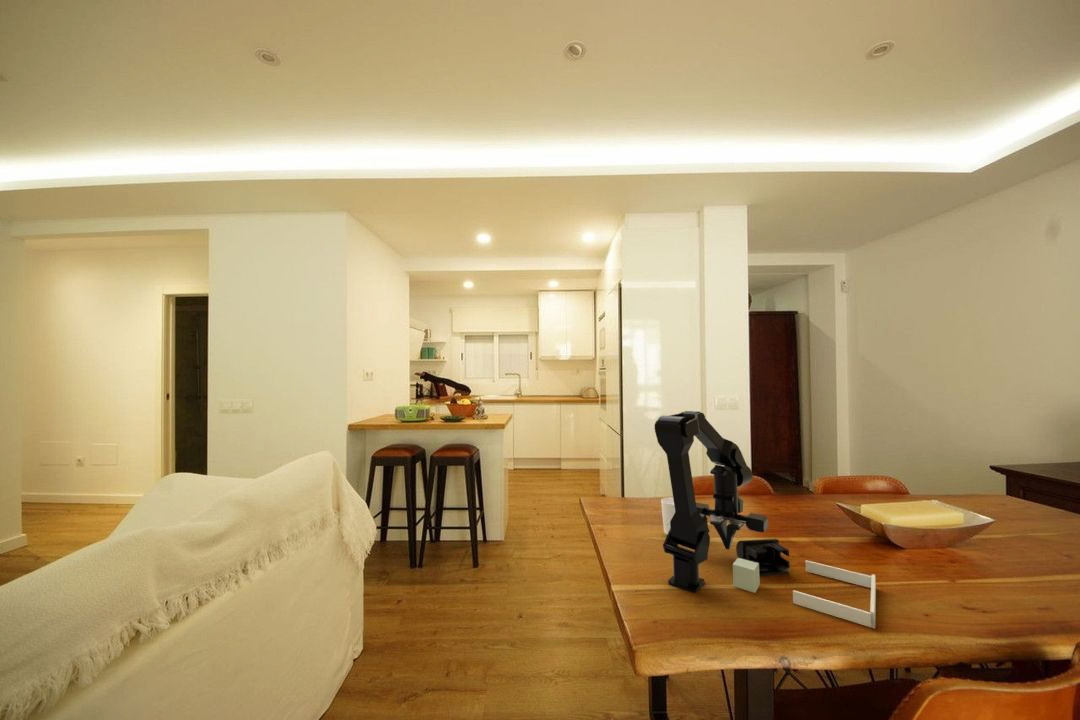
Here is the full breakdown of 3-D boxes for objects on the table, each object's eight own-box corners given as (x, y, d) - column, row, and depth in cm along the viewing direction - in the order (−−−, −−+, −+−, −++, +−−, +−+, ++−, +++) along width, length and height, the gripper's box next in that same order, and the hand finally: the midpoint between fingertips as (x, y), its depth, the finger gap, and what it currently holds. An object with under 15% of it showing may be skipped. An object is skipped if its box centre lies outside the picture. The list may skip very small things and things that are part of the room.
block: (755, 593, 86) (754, 570, 87) (733, 586, 89) (732, 564, 90) (759, 585, 90) (758, 563, 90) (738, 579, 93) (737, 557, 93)
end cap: (771, 561, 102) (770, 534, 102) (791, 574, 95) (790, 545, 95) (736, 563, 101) (735, 536, 101) (754, 576, 94) (753, 548, 94)
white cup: (684, 540, 116) (683, 506, 116) (658, 534, 120) (657, 501, 121) (691, 532, 122) (690, 500, 122) (667, 526, 127) (666, 495, 127)
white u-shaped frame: (875, 628, 73) (874, 612, 74) (793, 603, 82) (792, 588, 82) (875, 588, 88) (875, 574, 88) (806, 570, 97) (805, 558, 97)
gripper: (771, 489, 104) (773, 548, 103) (700, 478, 117) (702, 531, 116) (762, 498, 96) (764, 563, 95) (686, 486, 108) (688, 543, 107)
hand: (727, 548), depth 104 cm, fingers closed
